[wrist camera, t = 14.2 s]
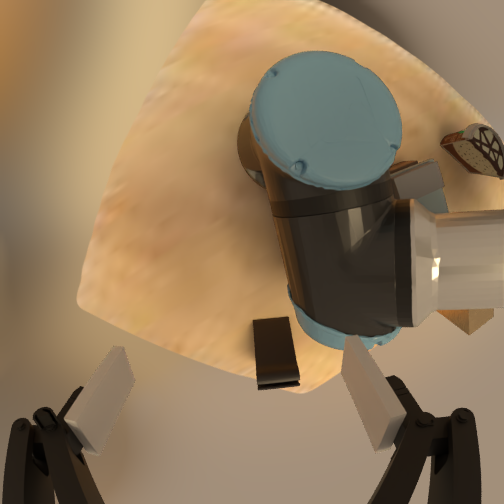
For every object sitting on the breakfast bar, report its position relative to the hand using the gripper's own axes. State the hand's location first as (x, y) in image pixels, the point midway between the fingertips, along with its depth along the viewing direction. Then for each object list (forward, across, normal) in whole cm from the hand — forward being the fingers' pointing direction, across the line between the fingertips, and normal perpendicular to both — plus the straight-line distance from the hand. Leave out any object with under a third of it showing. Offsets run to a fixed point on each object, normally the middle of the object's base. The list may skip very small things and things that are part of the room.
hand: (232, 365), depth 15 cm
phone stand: (+29, +4, -17) cm, 34 cm away
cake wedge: (+29, +42, +17) cm, 54 cm away
